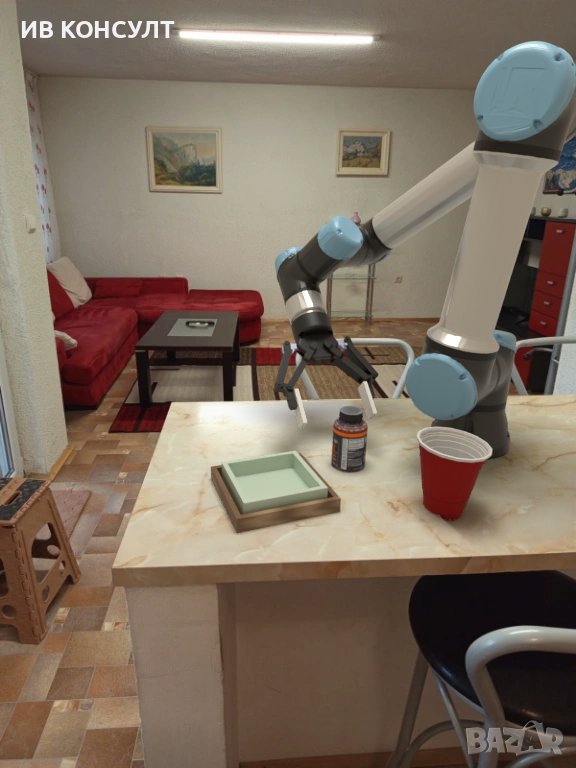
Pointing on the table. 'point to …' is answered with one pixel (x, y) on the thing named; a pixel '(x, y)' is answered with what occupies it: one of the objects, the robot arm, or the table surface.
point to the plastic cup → (449, 468)
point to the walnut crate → (276, 514)
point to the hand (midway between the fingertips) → (338, 421)
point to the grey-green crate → (271, 482)
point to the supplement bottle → (349, 440)
